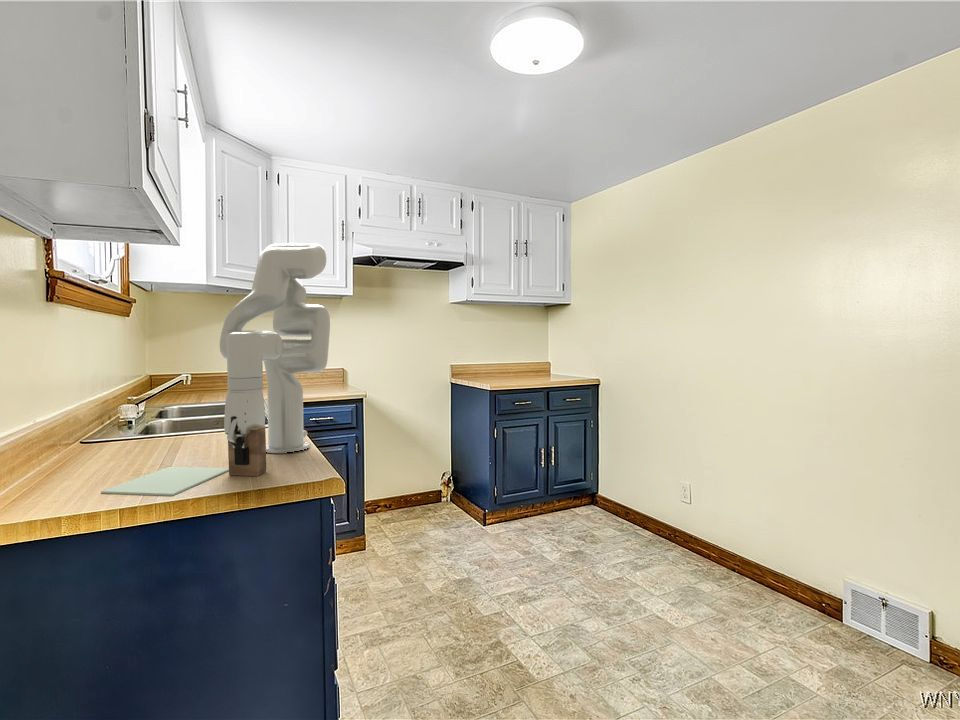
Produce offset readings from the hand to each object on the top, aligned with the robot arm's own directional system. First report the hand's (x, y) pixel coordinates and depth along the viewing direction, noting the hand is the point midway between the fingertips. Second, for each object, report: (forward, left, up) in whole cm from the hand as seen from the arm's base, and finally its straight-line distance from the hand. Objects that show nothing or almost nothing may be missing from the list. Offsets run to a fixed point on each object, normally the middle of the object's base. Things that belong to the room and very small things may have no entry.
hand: (247, 461), depth 120 cm
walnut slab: (0, 0, -3) cm, 3 cm away
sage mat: (+7, -14, -3) cm, 16 cm away
